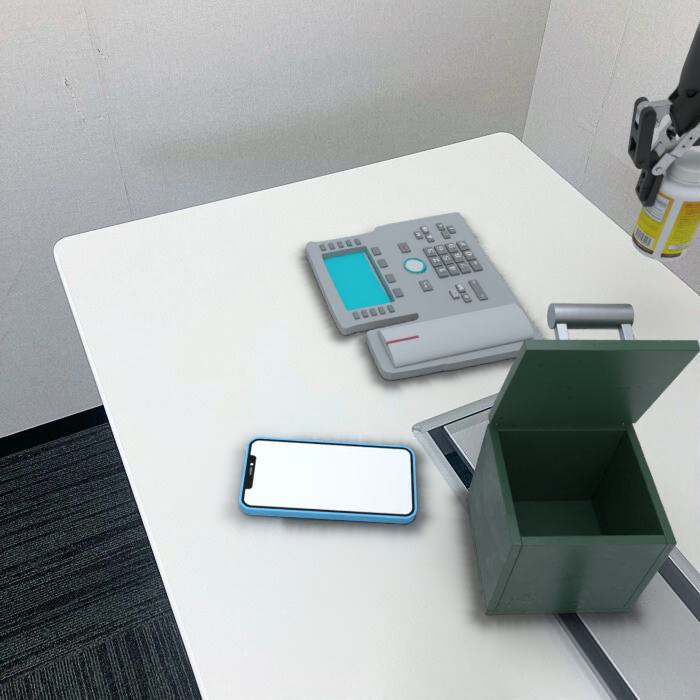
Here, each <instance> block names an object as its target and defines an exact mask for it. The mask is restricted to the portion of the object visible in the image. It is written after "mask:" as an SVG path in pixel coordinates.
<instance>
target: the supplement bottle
mask: <svg viewBox="0 0 700 700" xmlns="http://www.w3.org/2000/svg"><path fill="white" fill-rule="evenodd" d="M663 175H664V177H663V180H662V183H661V185H660V188H659V190H658V193H657V195H656V198H655V200H654V203H653V205H652V207H643V205H642V207H641V209H640V212H639V214H638V218H637V220H636V223H635V226H634V229H633V231H632V234H631V242H632V245H633V247H634V248H635V249H636V251H637V252H638V253H640V254H641V255H642V256H644V257H647V258H649V259H651V260H654V261H659V262H673V261H677V260H679V259H681V258H682V257H683V256H685V254H686V253H687V251H688V249H689V246H690V245H691V242H692V240H693V239H694V235H695V233H696V231H697V228H698V226H699V224H700V151H698V150H695V149H688V151H687V152H686V153H685V154H684V155H683V156H682V157H681V158H676V159H675V160H674V161H673V162H672V163H671V165H670V166H669V167H668V168H667V169H666V170H665V171H664V172H663Z"/></svg>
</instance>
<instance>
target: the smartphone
mask: <svg viewBox="0 0 700 700" xmlns="http://www.w3.org/2000/svg"><path fill="white" fill-rule="evenodd" d="M242 470H243V471H242V476H241V484H240V490H239V497H238V503H239V508H240V510H241V511H242V512H243V513H244V514H246V515H251V516H265V517H283V518H284V517H285V518H297V519H298V518H299V519H300V518H301V519H316V520H335V521H352V522H367V523H384V524H385V523H387V524H409V523H412V521H414V520H415V518H416V515H417V510H418V501H417V498H418V497H417V476H416V474H417V473H416V454H415V452H414V450H412V449H411V448H410V447H409V446H407V445H396V444H381V443H363V442H349V441H348V442H347V441H334V440H315V439H300V438H299V439H298V438H285V437H283V438H282V437H267V436H255V437H253V438H251V439H250V440H248V442H247V444H246V450H245V457H244V465H243V469H242Z"/></svg>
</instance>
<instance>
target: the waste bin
mask: <svg viewBox="0 0 700 700" xmlns="http://www.w3.org/2000/svg"><path fill="white" fill-rule="evenodd" d="M468 488H469V489H468V492H467V496H466V499H465V500H466V506H467V513H468V519H469V525H470V530H471V537H472V543H473V550H474V555H475V561H476V566H477V567H476V568H477V572H478V579H479V584H480V591H481V592H480V593H481V597H482V602H483V608H484V609H483V610H484V614H485V615H533V614H534V615H535V614H538V615H540V614H542V615H543V614H545V615H546V614H591V613H592V614H594V613H595V614H596V613H597V614H601V613H629V612H630V611H631V609H632V608H633V607H634V605H635V604H636V602H637V601H638V600H639V598H640V597H641V595H642V594H643V593H644V591H645V589H646V588H647V587H648V586H649V584H650V582H651V581H652V580H653V578H654V577H655V576H656V574H657V573H658V571H659V570H660V568H661V567H662V565H664V563H665V561H666V560H667V558H668V557H669V556H670V554H671V553H672V552H673V550H674V549H675V547H676V546H677V544H678V542H677V539H676V536H675V534H674V531H673V529H672V525H671V523H670V521H669V518H668V515H667V513H666V510H665V507H664V504H663V501H662V499H661V496H660V494H659V491H658V488H657V485H656V483H655V480H654V478H653V475H652V472H651V469H650V466H649V464H648V461H647V459H646V456H645V454H644V451H643V447H642V446H641V443H640V440H639V438H638V435H637V432H636V429H635V427H634V423H630V424H489V423H487V425H486V428H485V432H484V434H483V439H482V443H481V446H480V449H479V453H478V456H477V460H476V464H475V467H474V471H473V475H472V478H471V481H470V484H469V487H468Z"/></svg>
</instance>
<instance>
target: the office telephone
mask: <svg viewBox="0 0 700 700" xmlns="http://www.w3.org/2000/svg"><path fill="white" fill-rule="evenodd" d="M305 254H306V257H307V260H308V263H309V265H310V267H311V270H312V272H313V274H314V277H315V279H316V282H317V284H318V286H319V289H320V291H321V293H322V296H323V298H324V301H325V303H326V305H327V307H328V310H329V313H330V314H331V317H332V319H333V321H334V323H335V324H336V327H337V329H338V330H339V332H340V334H341V335H343V336H349V335H350V334H354V333H357V332H363V331H367V330H368V331H367V332H366V339H365V340H366V345H367V347H368V350H369V352H370V355H371V357H372V359H373V361H374V363H375V365H376V368H377V370H378V373H379V375H380V376H381V377H382V378H383V379H384V380H389V381H393V380H394V381H396V380H400V379H401V380H402V379H407V378H413V377H419V376H425V375H429V374H434V373H438V372H442V371H443V372H446V371H448V372H449V371H453V370H458V369H464V368H470V367H473V366H479V365H484V364H489V363H494V362H499V361H504V360H510V359H515V358H516V356H517V354H518V352H519V350H520V348H521V346H522V344H523V342H524V340H545V339H544V338H543V336H542V335H541V333H540V332H539V330H538V329H537V327H536V325H535V324H534V322H533V321H532V320H531V318H530V317H529V315H528V314H527V312H526V311H525V309H524V307H522V305H521V303H520V302H519V301H518V299H517V298H516V296H515V295H514V293H513V292H512V290H511V288H509V285H508V284H507V283H506V281H505V280H504V278H503V277H502V275H501V274H500V272H499V271H498V270H497V268H496V266H495V265H494V264H493V262H492V261H491V259H490V258H489V256H488V255H487V254H486V252H485V250H484V249H483V248H482V246H481V244H480V243H479V242H478V240H477V239H476V237H475V236H474V234H473V231H472V230H471V228H470V226H469V225H468V223H467V222H466V220H465V218H464V217H463V216H462V215H461V213H460V212H457V211H455V212H447V213H442V214H436V215H430V216H426V217H420V218H415V219H414V218H413V219H408V220H402V221H397V222H392V223H386V224H383V225H378V226H377V227H374V229H373V231H370V232H365V233H360V234H355V235H350V236H345V237H339V238H333V239H327V240H320V241H313V240H311V241H308V242H306V244H305Z"/></svg>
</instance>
